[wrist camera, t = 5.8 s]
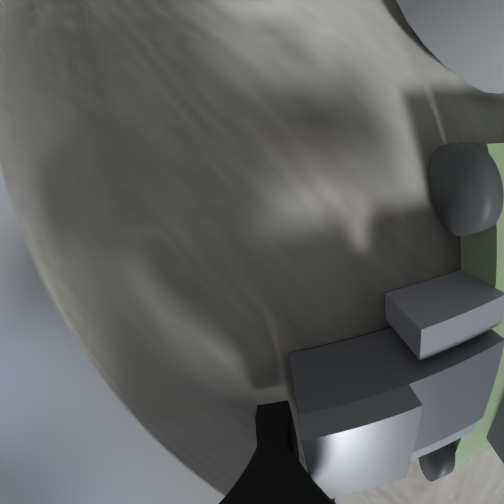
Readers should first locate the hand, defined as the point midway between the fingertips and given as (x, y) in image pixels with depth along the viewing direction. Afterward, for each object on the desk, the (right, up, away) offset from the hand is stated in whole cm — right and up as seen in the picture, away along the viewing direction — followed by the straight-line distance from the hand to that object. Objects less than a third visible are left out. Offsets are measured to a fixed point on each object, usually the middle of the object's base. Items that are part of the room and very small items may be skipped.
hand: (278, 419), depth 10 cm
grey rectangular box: (+5, +1, +1) cm, 5 cm away
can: (+8, +17, -2) cm, 19 cm away
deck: (+12, +3, +1) cm, 12 cm away
